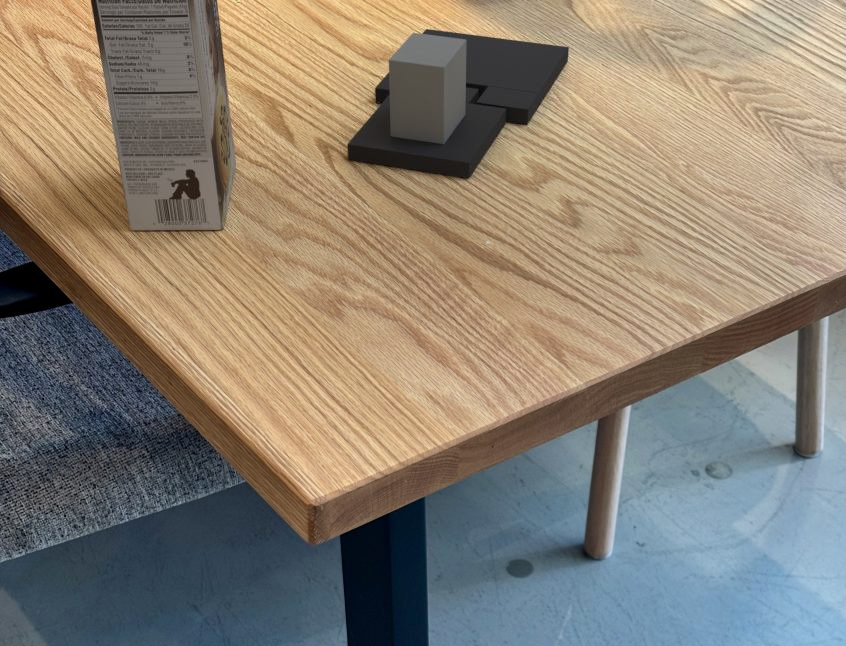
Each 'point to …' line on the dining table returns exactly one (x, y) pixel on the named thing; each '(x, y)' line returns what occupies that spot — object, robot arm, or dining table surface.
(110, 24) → the coffee box
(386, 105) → the grey post on plate
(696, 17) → the dining table surface
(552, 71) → the base pad
